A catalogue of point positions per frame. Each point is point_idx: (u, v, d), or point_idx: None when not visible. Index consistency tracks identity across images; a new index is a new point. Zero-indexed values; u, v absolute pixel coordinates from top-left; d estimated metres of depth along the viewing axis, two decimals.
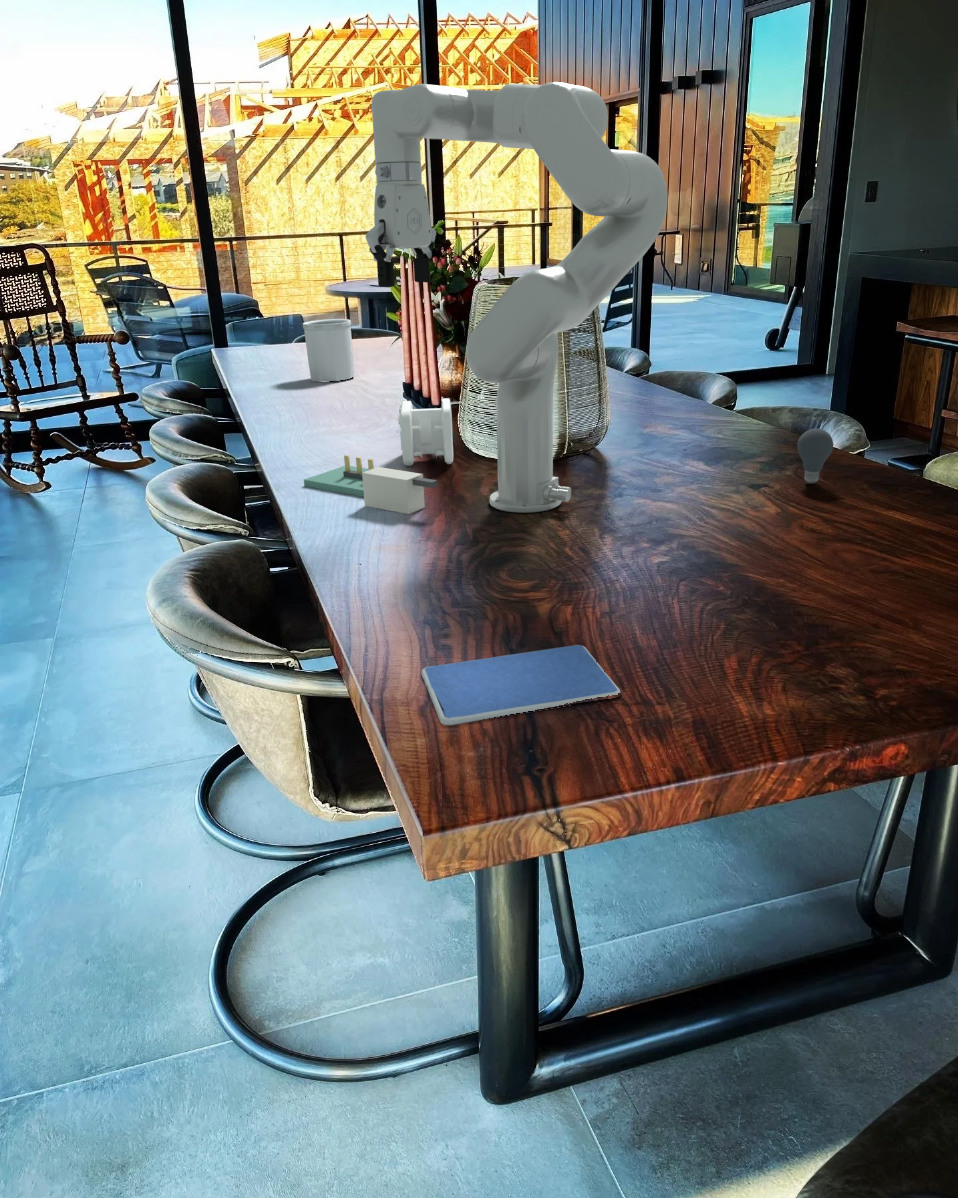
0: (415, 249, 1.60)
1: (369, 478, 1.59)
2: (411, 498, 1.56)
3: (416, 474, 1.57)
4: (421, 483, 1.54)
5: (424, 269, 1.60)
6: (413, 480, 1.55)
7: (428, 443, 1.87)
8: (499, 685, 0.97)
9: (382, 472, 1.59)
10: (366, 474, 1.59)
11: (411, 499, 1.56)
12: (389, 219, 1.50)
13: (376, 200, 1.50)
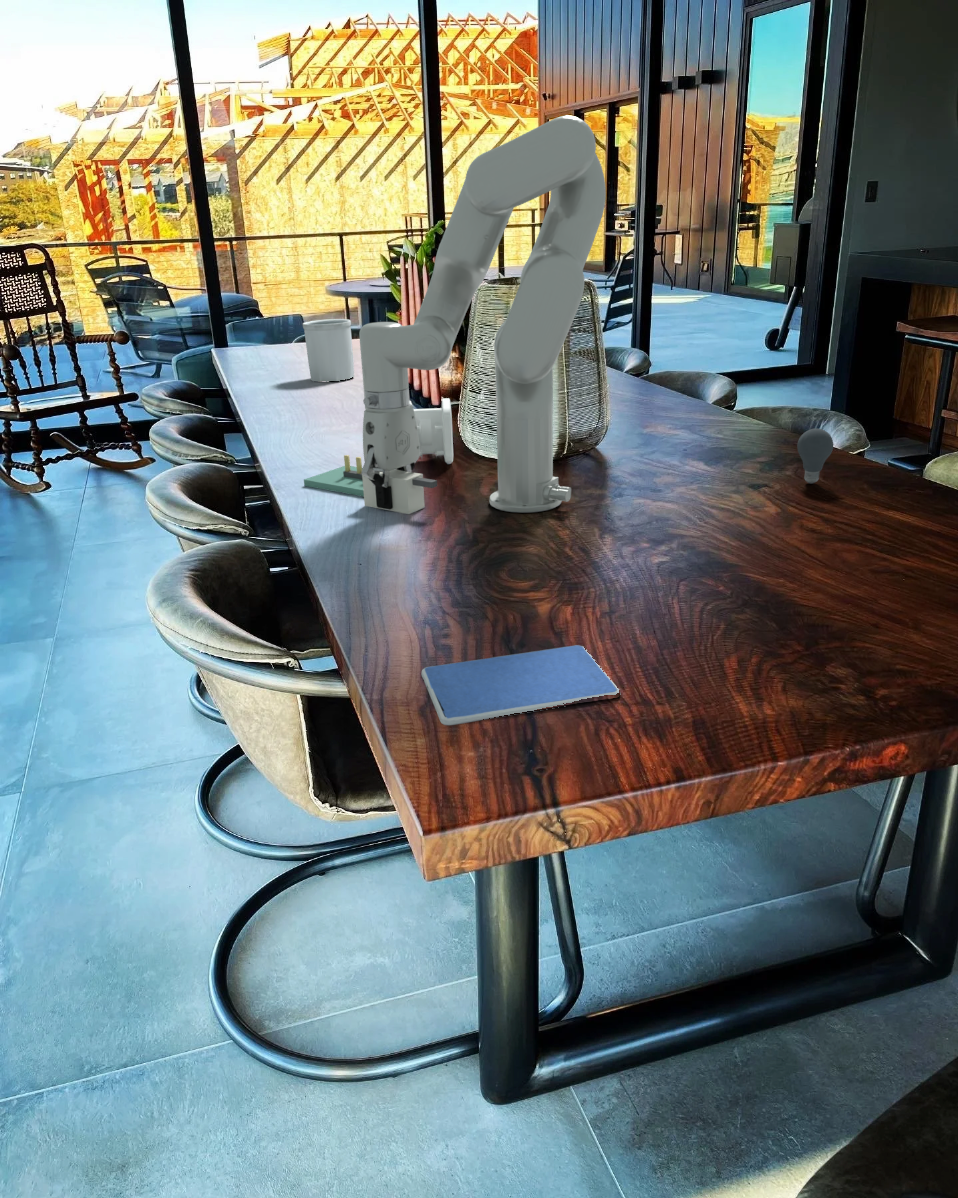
0: (397, 467, 1.60)
1: None
2: (411, 498, 1.56)
3: (416, 474, 1.57)
4: (421, 483, 1.54)
5: None
6: (413, 480, 1.55)
7: (428, 443, 1.87)
8: (498, 686, 0.97)
9: (382, 472, 1.59)
10: None
11: (411, 499, 1.56)
12: (377, 445, 1.51)
13: (364, 426, 1.52)
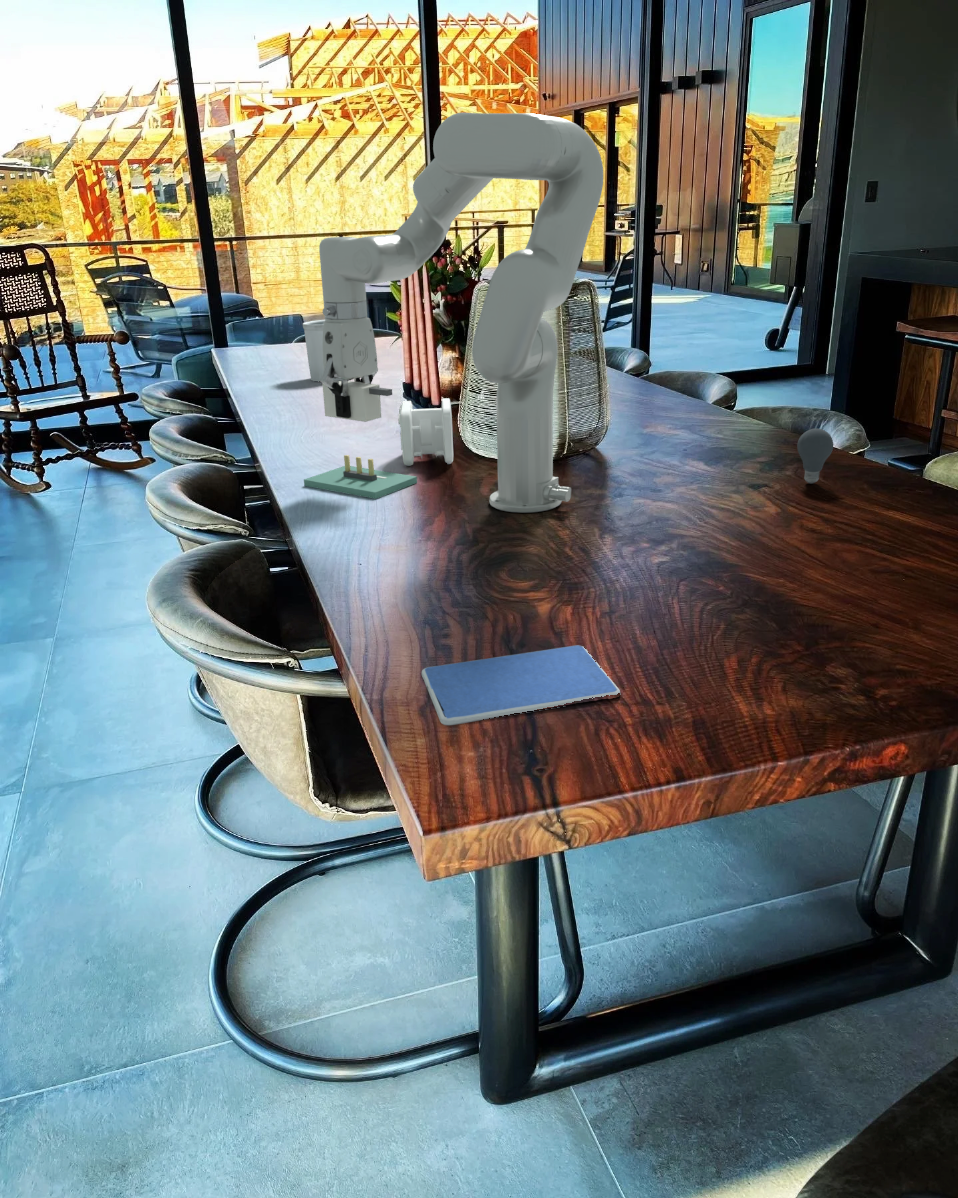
0: (356, 379, 1.69)
1: None
2: (368, 406, 1.65)
3: (373, 384, 1.66)
4: (377, 392, 1.63)
5: None
6: (370, 389, 1.64)
7: (428, 443, 1.87)
8: (498, 686, 0.97)
9: None
10: None
11: (368, 407, 1.65)
12: (336, 354, 1.60)
13: (324, 336, 1.61)
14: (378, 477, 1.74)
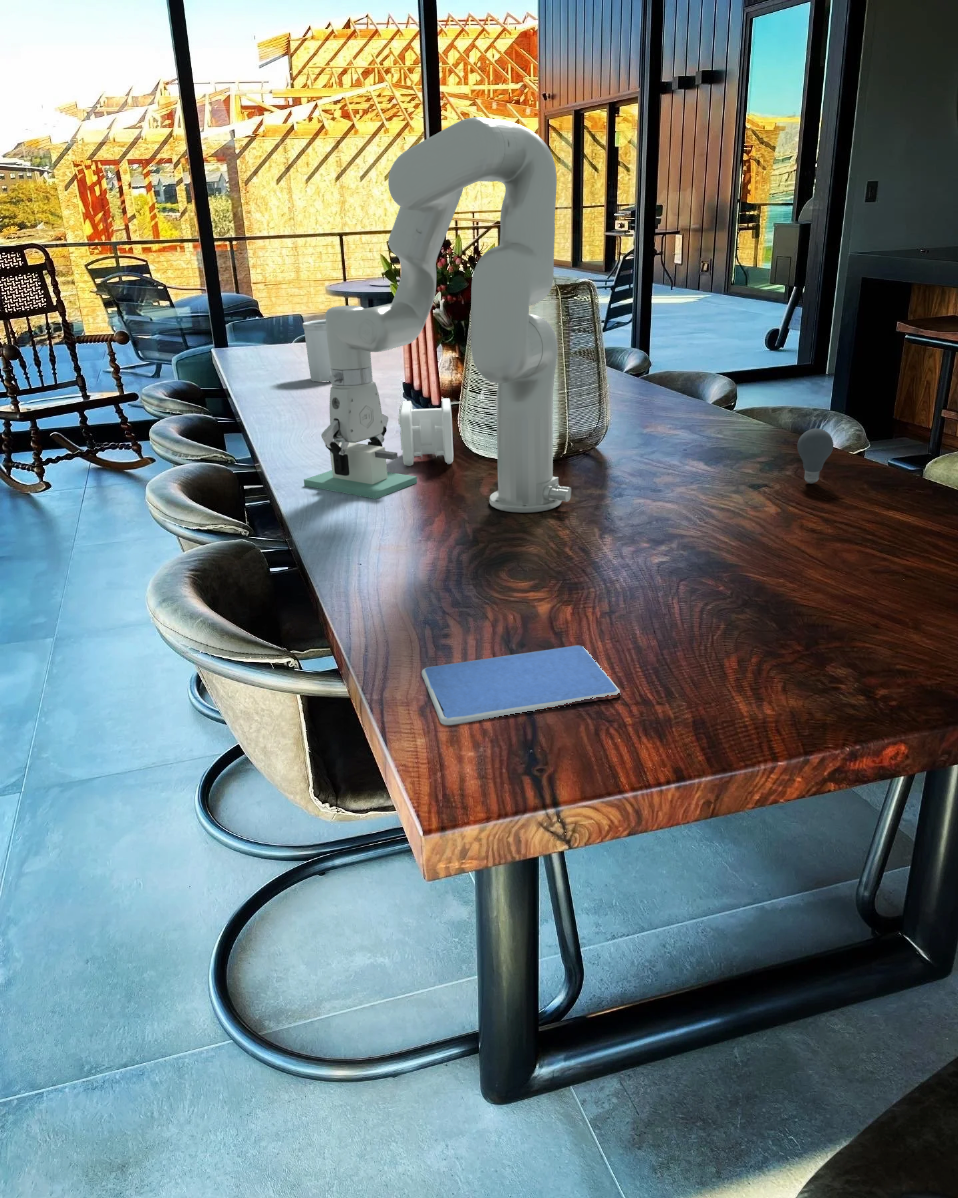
0: None
1: None
2: (374, 469, 1.69)
3: (379, 447, 1.70)
4: (383, 455, 1.68)
5: None
6: (375, 453, 1.68)
7: (428, 443, 1.87)
8: (498, 686, 0.97)
9: (348, 446, 1.72)
10: None
11: (374, 470, 1.69)
12: (343, 419, 1.65)
13: (331, 401, 1.65)
14: None
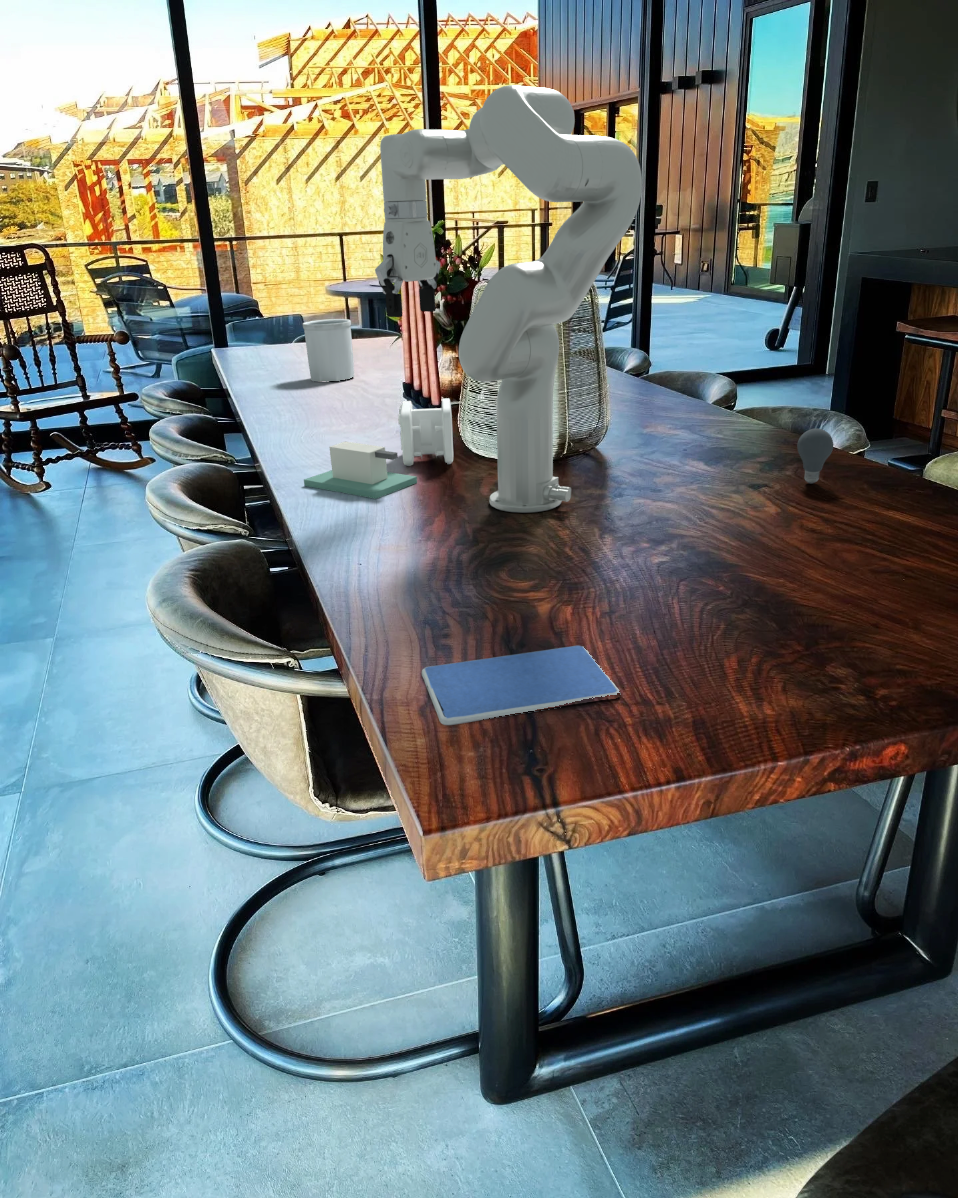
0: (421, 280, 1.69)
1: (336, 452, 1.72)
2: (374, 469, 1.69)
3: (379, 447, 1.70)
4: (383, 455, 1.68)
5: (429, 299, 1.70)
6: (375, 453, 1.68)
7: (428, 443, 1.87)
8: (498, 686, 0.97)
9: (348, 446, 1.72)
10: (333, 448, 1.72)
11: (374, 470, 1.69)
12: (397, 254, 1.59)
13: (385, 236, 1.60)
14: None
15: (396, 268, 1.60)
